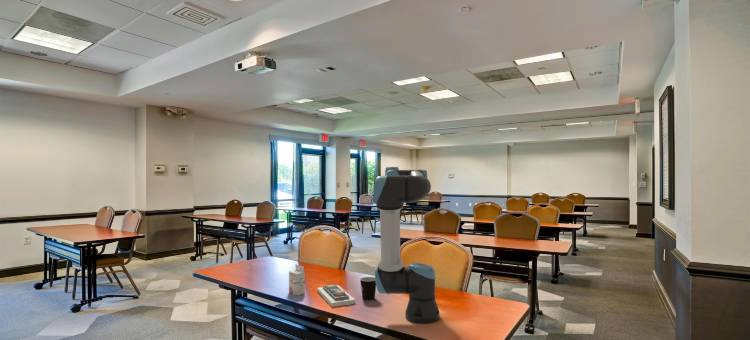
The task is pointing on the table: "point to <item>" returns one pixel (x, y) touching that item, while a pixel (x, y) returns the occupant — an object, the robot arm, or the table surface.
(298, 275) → the ink cartridge box
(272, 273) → the table surface
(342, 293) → the clay button
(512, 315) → the table surface
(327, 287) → the sage button
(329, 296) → the button panel
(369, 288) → the coffee mug
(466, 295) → the table surface
